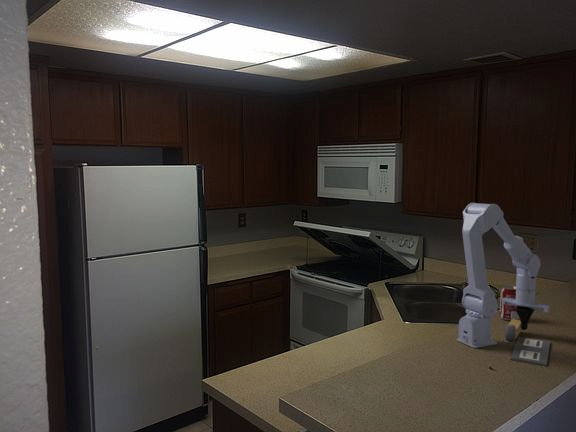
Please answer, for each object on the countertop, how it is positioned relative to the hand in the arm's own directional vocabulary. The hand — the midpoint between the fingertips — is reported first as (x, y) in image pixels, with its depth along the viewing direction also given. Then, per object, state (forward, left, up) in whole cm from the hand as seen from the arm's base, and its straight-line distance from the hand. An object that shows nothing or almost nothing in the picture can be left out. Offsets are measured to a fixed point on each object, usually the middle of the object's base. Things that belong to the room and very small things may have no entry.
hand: (524, 329), depth 158 cm
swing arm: (-5, 0, -1) cm, 5 cm away
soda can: (+11, +16, -2) cm, 19 cm away
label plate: (-11, -11, -2) cm, 16 cm away
